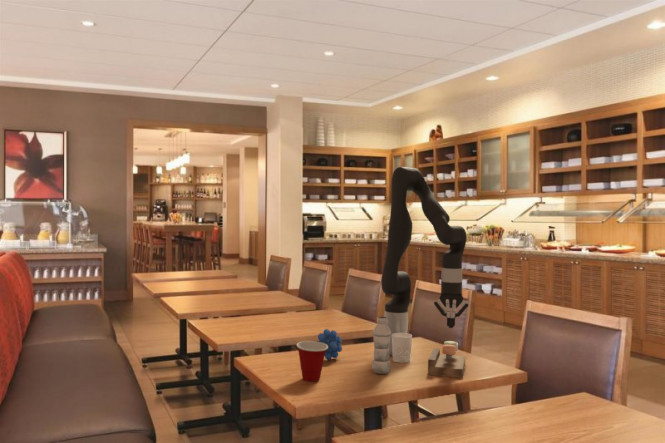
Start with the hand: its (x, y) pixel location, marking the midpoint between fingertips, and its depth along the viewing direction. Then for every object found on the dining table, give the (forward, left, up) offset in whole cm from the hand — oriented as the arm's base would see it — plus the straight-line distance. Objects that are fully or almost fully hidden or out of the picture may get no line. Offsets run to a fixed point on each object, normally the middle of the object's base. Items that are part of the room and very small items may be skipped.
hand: (450, 327), depth 211 cm
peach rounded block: (0, -6, -10) cm, 12 cm away
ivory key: (0, +6, -11) cm, 13 cm away
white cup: (-19, +7, -16) cm, 26 cm away
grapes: (-45, -2, -16) cm, 48 cm away
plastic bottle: (-23, -13, -16) cm, 31 cm away
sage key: (0, 0, -10) cm, 10 cm away
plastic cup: (-44, -28, -16) cm, 54 cm away
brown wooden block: (-1, 0, -15) cm, 15 cm away
